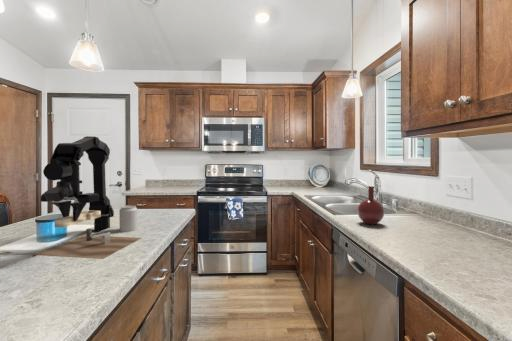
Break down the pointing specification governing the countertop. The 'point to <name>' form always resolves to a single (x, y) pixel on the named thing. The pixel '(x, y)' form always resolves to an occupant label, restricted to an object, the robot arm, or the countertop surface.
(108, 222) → the robot arm
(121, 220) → the can
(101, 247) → the base board
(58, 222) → the link
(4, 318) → the countertop surface
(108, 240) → the keeper
